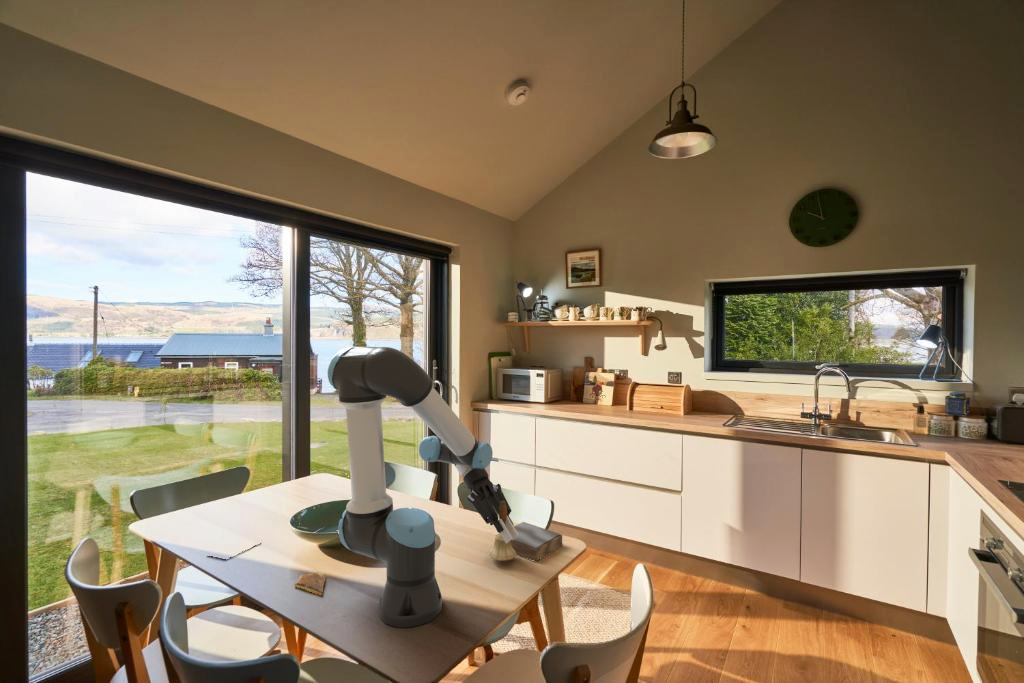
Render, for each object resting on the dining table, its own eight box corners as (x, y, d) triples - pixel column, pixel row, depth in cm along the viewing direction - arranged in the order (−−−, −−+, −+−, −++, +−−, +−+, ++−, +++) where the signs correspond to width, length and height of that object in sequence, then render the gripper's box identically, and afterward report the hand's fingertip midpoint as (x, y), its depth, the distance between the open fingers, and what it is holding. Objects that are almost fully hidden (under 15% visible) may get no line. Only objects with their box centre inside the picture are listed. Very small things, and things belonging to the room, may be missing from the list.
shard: (322, 598, 123) (322, 591, 123) (290, 603, 121) (289, 595, 121) (326, 577, 134) (326, 571, 134) (297, 581, 132) (297, 575, 132)
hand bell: (517, 560, 139) (517, 505, 139) (488, 560, 138) (489, 505, 138) (515, 548, 147) (516, 496, 147) (488, 548, 146) (489, 496, 146)
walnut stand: (535, 562, 142) (535, 548, 142) (495, 546, 152) (495, 534, 152) (562, 546, 153) (562, 533, 152) (523, 532, 163) (523, 521, 163)
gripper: (483, 473, 158) (521, 537, 147) (448, 484, 146) (488, 554, 136) (495, 460, 155) (535, 525, 144) (461, 470, 143) (502, 541, 132)
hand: (512, 539), depth 140 cm, fingers closed on hand bell, 2 cm apart
